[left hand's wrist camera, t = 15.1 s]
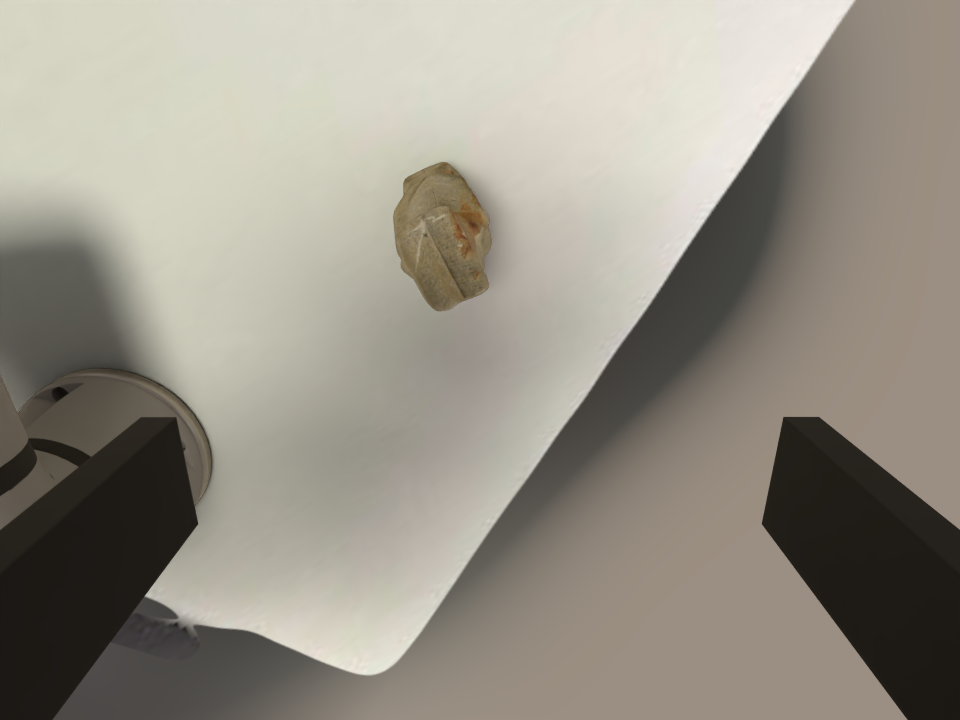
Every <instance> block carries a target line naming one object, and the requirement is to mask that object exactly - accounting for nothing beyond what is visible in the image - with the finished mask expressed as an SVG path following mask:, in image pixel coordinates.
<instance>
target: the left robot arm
mask: <svg viewBox="0 0 960 720" xmlns="http://www.w3.org/2000/svg"><path fill="white" fill-rule="evenodd" d="M210 473H211V455H210V449H209V445H208V442H207V439H206V436H205V434H204V432H203V430H202V428H201V426H200V424H199V422H198V421H197V419H196V418H195V417H194V415H193V414H192V413H191V411H190V410H189V409H188V408H187V407H186V406H185V405H184V404H183V403H182V402H181V401H180V400H179V399H178V398H177V397H176V396H174V395H173V394H172V393H171V392H169V391H168V390H166V389H165V388H163V387H162V386H160V385H158V384H157V383H155V382H153V381H151V380H149V379H147V378H144V377H142V376H139V375H136V374H133V373H130V372H126V371H121V370H115V369H102V368H100V369H87V370H81V371H77V372H73V373H71V374H68V375H66V376H64V377H61V378H59V379H58V380H56V381H54V382H52V383H50V384H49V385H47V386H45V387H44V388H42V389H41V390H39V391H38V392H37V393H36V394H35V395H34V396H33V397H32V398H31V399H29V400H28V401H27V402H26V404H25V405H24V406H23V407H22V409H21V410H20V411H19V413H17V411H16V409H15V407H14V405H13V402H12V400H11V398H10V396H9V393H8V391H7V389H6V387H5V385H4V382H3V380H2V378H1V376H0V720H53V718H54V717H55V715H56V714H57V713H58V712H59V710H60V709H61V707H62V706H63V705H64V703H65V702H66V701H67V699H68V698H69V697H70V695H71V694H72V693H73V691H74V690H75V689H76V687H77V686H78V685H79V683H80V682H81V681H82V679H83V678H84V677H85V675H86V674H87V673H88V671H89V670H90V669H91V667H92V666H93V664H94V663H95V662H96V661H97V659H98V658H99V656H100V655H101V654H102V652H103V651H104V650H105V648H106V647H107V646H108V644H109V643H110V642H111V640H112V639H113V638H114V636H115V635H116V634H117V632H118V631H119V630H120V628H121V627H122V626H123V624H124V623H125V622H126V620H127V619H128V618H129V616H130V615H131V613H132V612H133V611H134V609H135V608H136V607H137V605H138V604H139V603H140V601H141V600H142V599H143V597H144V596H145V595H146V593H147V592H148V591H149V589H150V588H151V587H152V585H153V584H154V583H155V581H156V580H157V579H158V577H159V576H160V575H161V573H162V572H163V571H164V569H165V568H166V566H167V565H168V564H169V562H170V561H171V560H172V558H173V557H174V556H175V554H176V553H177V552H178V550H179V549H180V548H181V546H182V545H183V544H184V542H185V541H186V540H187V538H188V537H189V536H190V534H191V533H192V532H193V530H194V529H195V528H196V526H197V525H198V521H197V516H196V511H195V505H196V503H197V502H198V501H199V500H200V498H201V497H202V495H203V493H204V492H205V490H206V488H207V485H208V482H209V478H210ZM762 525H763V526H764V528H765V529H766V530H767V532H768V533H769V534H770V536H771V537H772V538H773V540H774V541H775V542H776V544H777V545H778V546H779V548H780V549H781V550H782V552H783V553H784V554H785V556H786V557H787V558H788V560H789V561H790V562H791V564H792V565H793V566H794V568H795V569H796V571H797V572H798V573H799V575H800V576H801V577H802V579H803V580H804V581H805V583H806V584H807V585H808V587H809V588H810V589H811V591H812V592H813V593H814V595H815V596H816V597H817V599H818V600H819V601H820V603H821V604H822V605H823V607H824V608H825V609H826V611H827V612H828V613H829V615H830V616H831V618H832V619H833V620H834V622H835V623H836V624H837V626H838V627H839V628H840V630H841V631H842V632H843V634H844V635H845V636H846V638H847V639H848V640H849V642H850V643H851V644H852V646H853V647H854V648H855V650H856V651H857V652H858V654H859V655H860V656H861V658H862V659H863V661H864V662H865V663H866V665H867V666H868V667H869V669H870V670H871V671H872V672H873V674H874V675H875V677H876V678H877V679H878V681H879V682H880V683H881V685H882V686H883V687H884V689H885V690H886V691H887V693H888V694H889V695H890V697H891V698H892V699H893V701H894V702H895V703H896V705H897V706H898V708H899V709H900V710H901V712H902V713H903V714H904V716H905V717H906V718H907V720H960V530H959V529H958V528H957V527H956V526H954V525H953V524H952V523H951V522H949V521H948V520H947V519H946V518H944V517H943V516H942V515H941V514H939V513H938V512H937V511H936V510H934V509H933V508H932V507H931V506H929V505H928V504H927V503H926V502H924V501H923V500H922V499H921V498H919V497H918V496H917V495H916V494H914V493H913V492H912V491H911V490H909V489H908V488H907V487H906V486H904V485H903V484H902V483H901V482H899V481H898V480H897V479H896V478H894V477H893V476H892V475H891V474H889V473H888V472H887V471H886V470H884V469H883V468H882V467H881V466H879V465H878V464H877V463H876V462H874V461H873V460H872V459H871V458H869V457H868V456H867V455H866V454H864V453H863V452H862V451H861V450H859V449H858V448H857V447H856V446H854V445H853V444H852V443H851V442H849V441H848V440H847V439H846V438H844V437H843V436H842V435H841V434H839V433H838V432H837V431H836V430H834V429H833V428H832V427H831V426H830V425H828V424H827V423H826V422H825V421H823V420H822V419H821V418H820V417H784V418H783V422H782V427H781V432H780V437H779V442H778V447H777V452H776V457H775V461H774V466H773V471H772V476H771V481H770V486H769V491H768V496H767V501H766V506H765V511H764V516H763V521H762Z"/></svg>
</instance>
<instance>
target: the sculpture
mask: <svg viewBox="0 0 960 720" xmlns="http://www.w3.org/2000/svg"><path fill="white" fill-rule="evenodd" d="M403 189H404V196H403V197H402V199H401V201H400V202H399V204H398V205H397V207H396V209H395V211H394V216H393V218H394V231H395V242H396V248H397V252H398V255H399V257H400V259H401V268H402V270H403V271H404V272H405V273H406V274H408V275H409V276H410V277H412V278H413V279H414V281H415V282H416V284H417V286H418V288H419V290H420V292H421V294H422V295H423V297H424V299H425V300H426V302H427V303H428V304H429V305H430V306H431V307H432V308H433V309H435V310H436V311H445V310H449V309H452V308H453V307H454V306H456V305H457V304H458V303H460V302H462V301H465V300H467V299H470V298H473V297H476V296H478V295H480V294H482V293H483V292H485V291H486V290H487V289H488V287H489V283H488V280H487V277H486V275H485V272H484V256H485V255H486V254H487V253H488V251H489V250H490V247H491V235H490V231H489V228H488V225H489V222H490V220H489V217H488V215H487V214H486V212H485V211H484V210H483V208H482V207H481V205H480V204H479V202H478V200H477V198H476V197H475V195H474V194H473V192H472V190H471V189H470V187H469V186H468V184H467V183H466V181H465V179H464V178H463V177H461V175H460V174H459V173H458V172H457V171H456V170H455V169H454V168H453V167H452V166H451V165H450V164H448V163H447V162H441V163H438V164H435V165H432V166H430V167H427V168H425V169H423V170H421V171H419V172H417V173H415V174H413V175H411V176H409V177H407V178H406V179H405V180H404V183H403Z"/></svg>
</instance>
